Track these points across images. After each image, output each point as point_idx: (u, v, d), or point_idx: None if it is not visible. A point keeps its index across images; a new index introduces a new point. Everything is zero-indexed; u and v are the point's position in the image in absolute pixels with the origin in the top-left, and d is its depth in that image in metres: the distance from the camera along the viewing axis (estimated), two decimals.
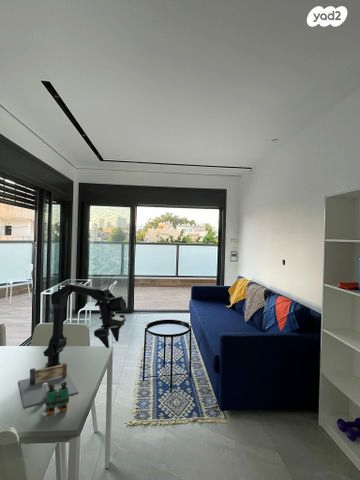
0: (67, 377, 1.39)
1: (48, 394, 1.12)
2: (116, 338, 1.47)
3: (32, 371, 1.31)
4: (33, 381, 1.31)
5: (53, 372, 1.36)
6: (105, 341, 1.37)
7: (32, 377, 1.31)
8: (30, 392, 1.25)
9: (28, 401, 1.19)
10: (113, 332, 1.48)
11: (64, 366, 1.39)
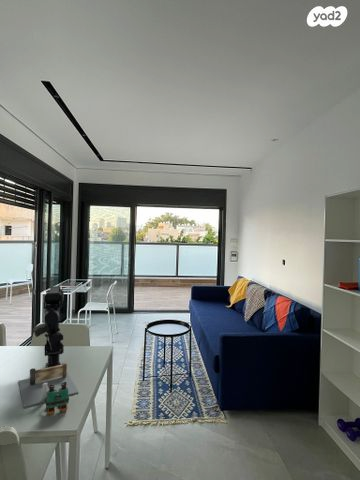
0: (67, 377, 1.39)
1: (48, 394, 1.12)
2: None
3: (32, 371, 1.31)
4: (33, 381, 1.31)
5: (53, 372, 1.36)
6: None
7: (32, 377, 1.31)
8: (30, 392, 1.25)
9: (28, 401, 1.19)
10: None
11: (64, 366, 1.39)
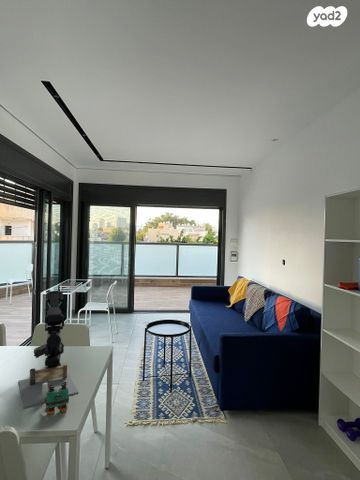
0: (67, 377, 1.39)
1: (48, 394, 1.12)
2: None
3: (32, 371, 1.31)
4: (33, 381, 1.31)
5: (54, 373, 1.35)
6: None
7: (32, 377, 1.31)
8: (30, 392, 1.25)
9: (28, 401, 1.19)
10: None
11: (64, 367, 1.37)
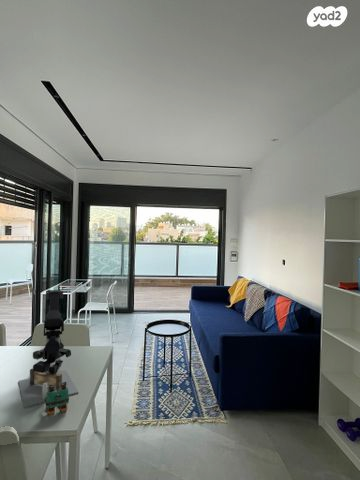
0: (67, 377, 1.39)
1: (48, 394, 1.12)
2: None
3: (30, 371, 1.31)
4: (31, 381, 1.31)
5: (48, 380, 1.29)
6: None
7: (30, 377, 1.31)
8: (30, 392, 1.25)
9: (28, 401, 1.19)
10: None
11: (57, 377, 1.28)
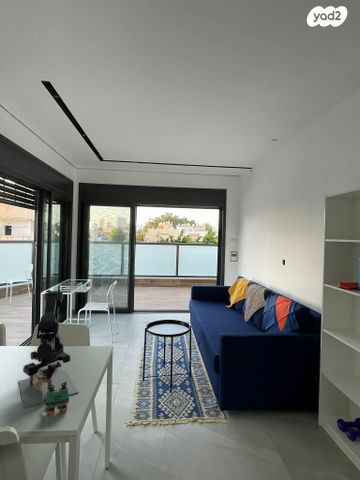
0: (67, 377, 1.39)
1: (48, 394, 1.12)
2: None
3: None
4: (30, 381, 1.31)
5: (41, 383, 1.26)
6: None
7: (30, 377, 1.31)
8: (30, 392, 1.25)
9: (28, 401, 1.19)
10: None
11: None
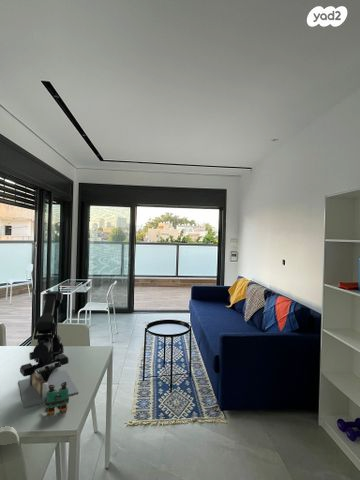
0: (67, 377, 1.39)
1: (48, 394, 1.12)
2: None
3: None
4: (30, 381, 1.31)
5: (37, 385, 1.25)
6: None
7: (30, 377, 1.31)
8: (30, 392, 1.25)
9: (28, 401, 1.19)
10: None
11: (40, 385, 1.21)
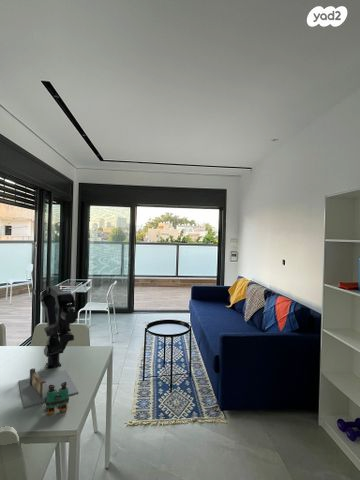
0: (67, 377, 1.39)
1: (48, 394, 1.12)
2: None
3: (30, 371, 1.31)
4: (30, 381, 1.31)
5: (37, 385, 1.25)
6: None
7: (30, 377, 1.31)
8: (30, 392, 1.25)
9: (28, 401, 1.19)
10: None
11: (40, 385, 1.21)
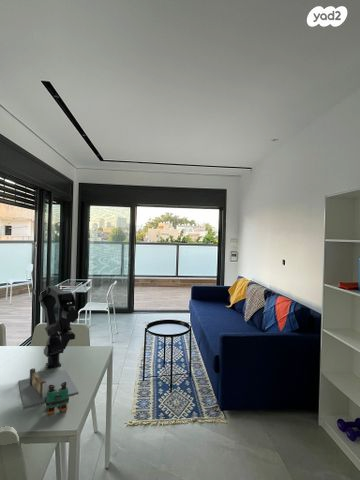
0: (67, 377, 1.39)
1: (48, 394, 1.12)
2: None
3: (30, 371, 1.31)
4: (30, 381, 1.31)
5: (37, 385, 1.25)
6: None
7: (30, 377, 1.31)
8: (30, 392, 1.25)
9: (28, 401, 1.19)
10: None
11: (40, 385, 1.21)
